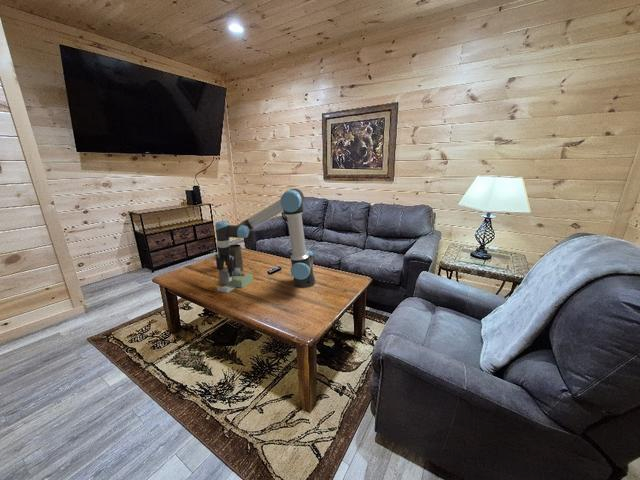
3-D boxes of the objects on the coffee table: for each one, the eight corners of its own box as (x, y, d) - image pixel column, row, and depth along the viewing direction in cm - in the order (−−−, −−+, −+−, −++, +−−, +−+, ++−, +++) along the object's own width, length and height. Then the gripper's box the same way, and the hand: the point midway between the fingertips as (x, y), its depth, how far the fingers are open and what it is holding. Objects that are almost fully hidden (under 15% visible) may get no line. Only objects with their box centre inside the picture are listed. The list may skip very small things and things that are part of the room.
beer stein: (246, 267, 207) (242, 243, 201) (241, 273, 196) (237, 247, 191) (227, 268, 208) (223, 244, 203) (221, 273, 198) (217, 248, 193)
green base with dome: (253, 280, 184) (252, 268, 181) (232, 294, 165) (230, 281, 162) (234, 277, 190) (233, 265, 187) (212, 289, 171) (210, 276, 168)
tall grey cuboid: (233, 279, 173) (232, 269, 171) (225, 283, 167) (225, 273, 165) (227, 277, 175) (226, 268, 173) (219, 282, 169) (218, 271, 167)
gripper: (239, 246, 164) (241, 280, 171) (216, 242, 171) (220, 275, 177) (231, 249, 158) (233, 285, 164) (208, 245, 164) (211, 279, 171)
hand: (226, 280), depth 171 cm, fingers closed on tall grey cuboid, 5 cm apart
